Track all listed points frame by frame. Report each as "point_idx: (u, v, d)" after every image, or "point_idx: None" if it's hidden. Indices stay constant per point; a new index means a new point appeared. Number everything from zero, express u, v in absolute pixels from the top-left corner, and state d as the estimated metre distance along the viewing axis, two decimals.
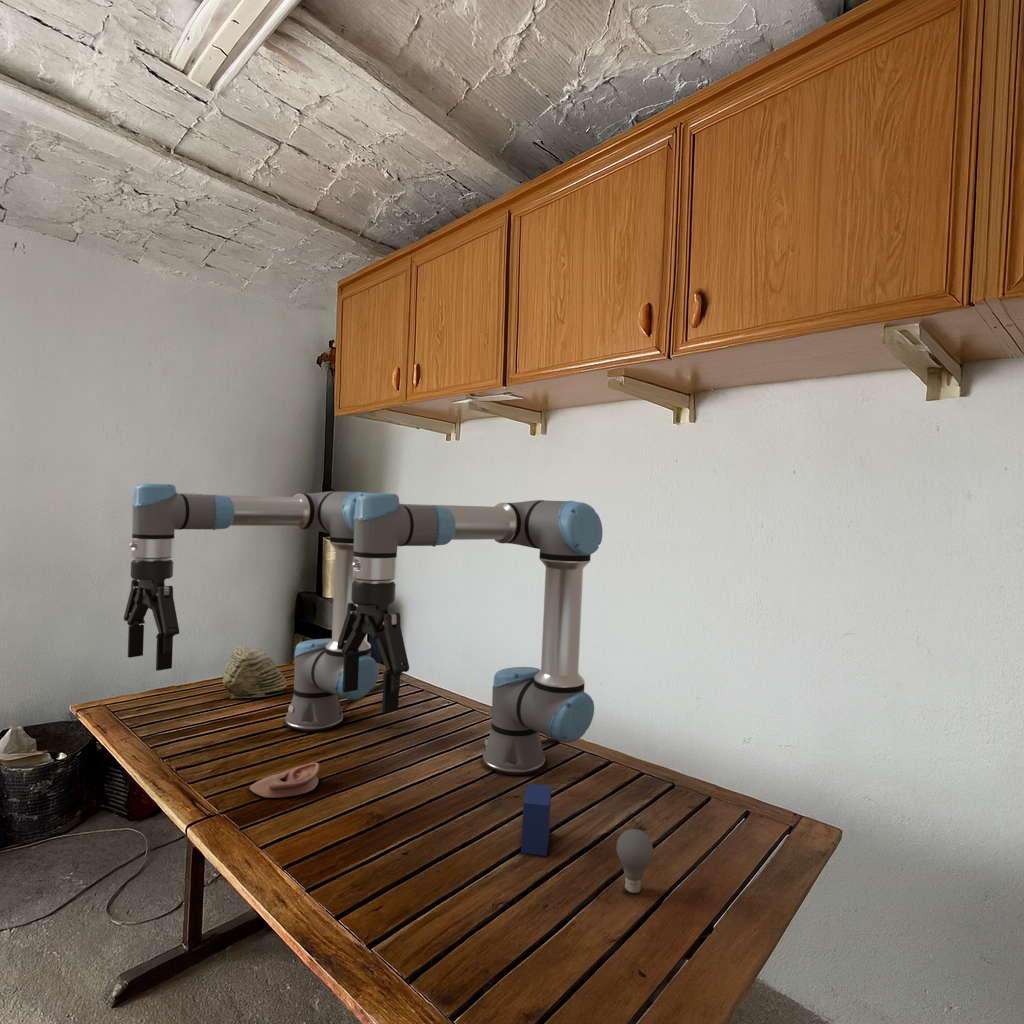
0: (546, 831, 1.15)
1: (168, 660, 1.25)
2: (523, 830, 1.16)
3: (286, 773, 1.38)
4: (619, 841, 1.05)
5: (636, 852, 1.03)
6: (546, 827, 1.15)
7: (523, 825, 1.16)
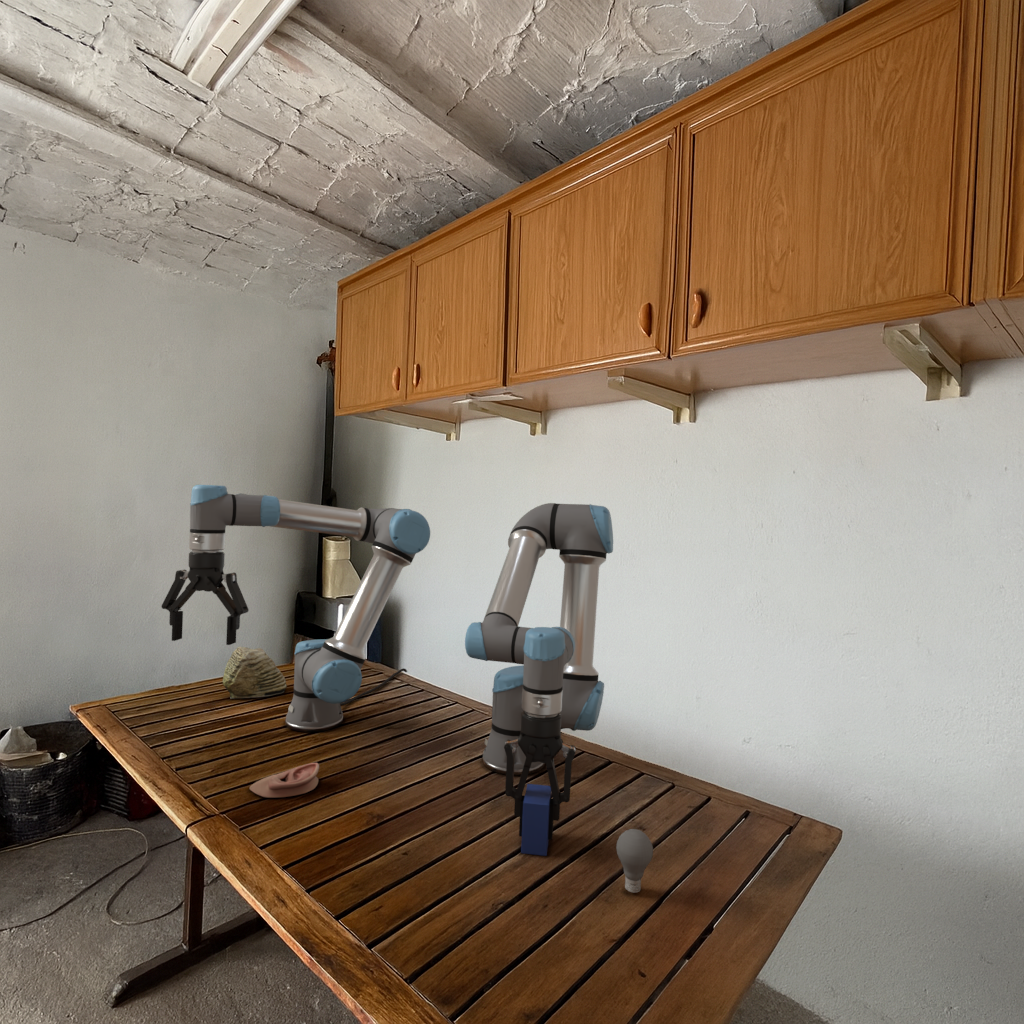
0: (546, 831, 1.15)
1: (234, 635, 1.48)
2: (523, 830, 1.16)
3: (286, 773, 1.38)
4: (619, 841, 1.05)
5: (636, 852, 1.03)
6: (546, 827, 1.15)
7: (523, 825, 1.16)
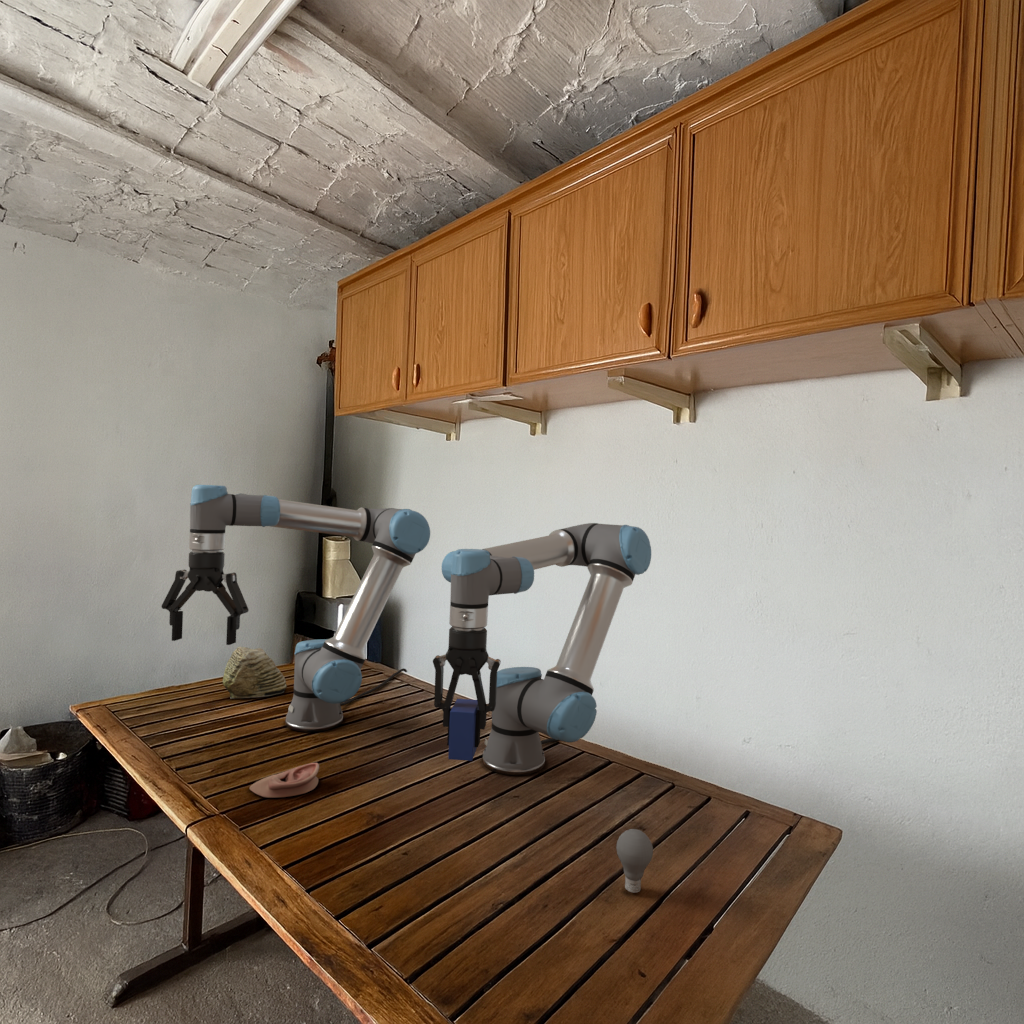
0: (472, 737, 1.22)
1: (234, 635, 1.48)
2: (450, 737, 1.22)
3: (286, 773, 1.38)
4: (619, 841, 1.05)
5: (636, 852, 1.03)
6: (472, 734, 1.22)
7: (450, 732, 1.22)
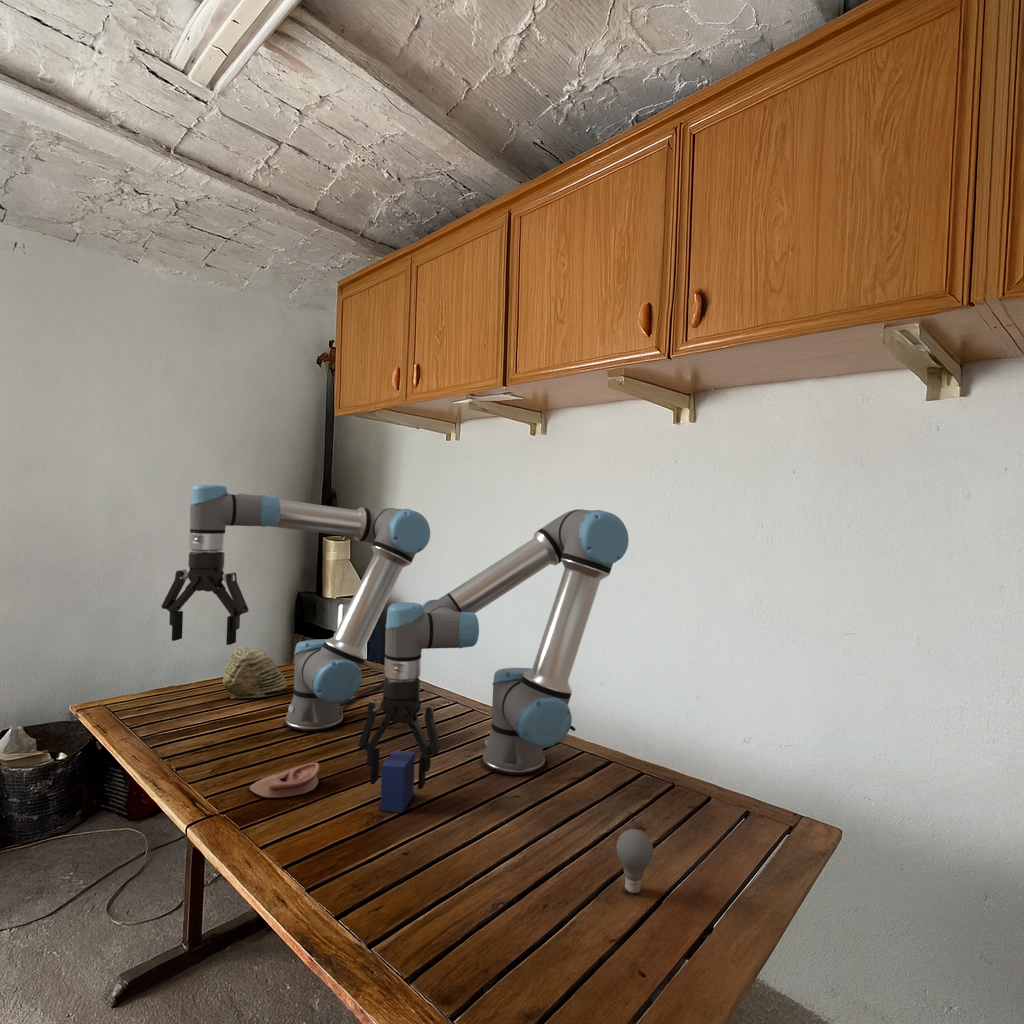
0: (402, 790, 1.28)
1: (234, 635, 1.48)
2: (382, 790, 1.29)
3: (286, 773, 1.38)
4: (619, 841, 1.05)
5: (636, 852, 1.03)
6: (402, 787, 1.28)
7: (382, 785, 1.29)
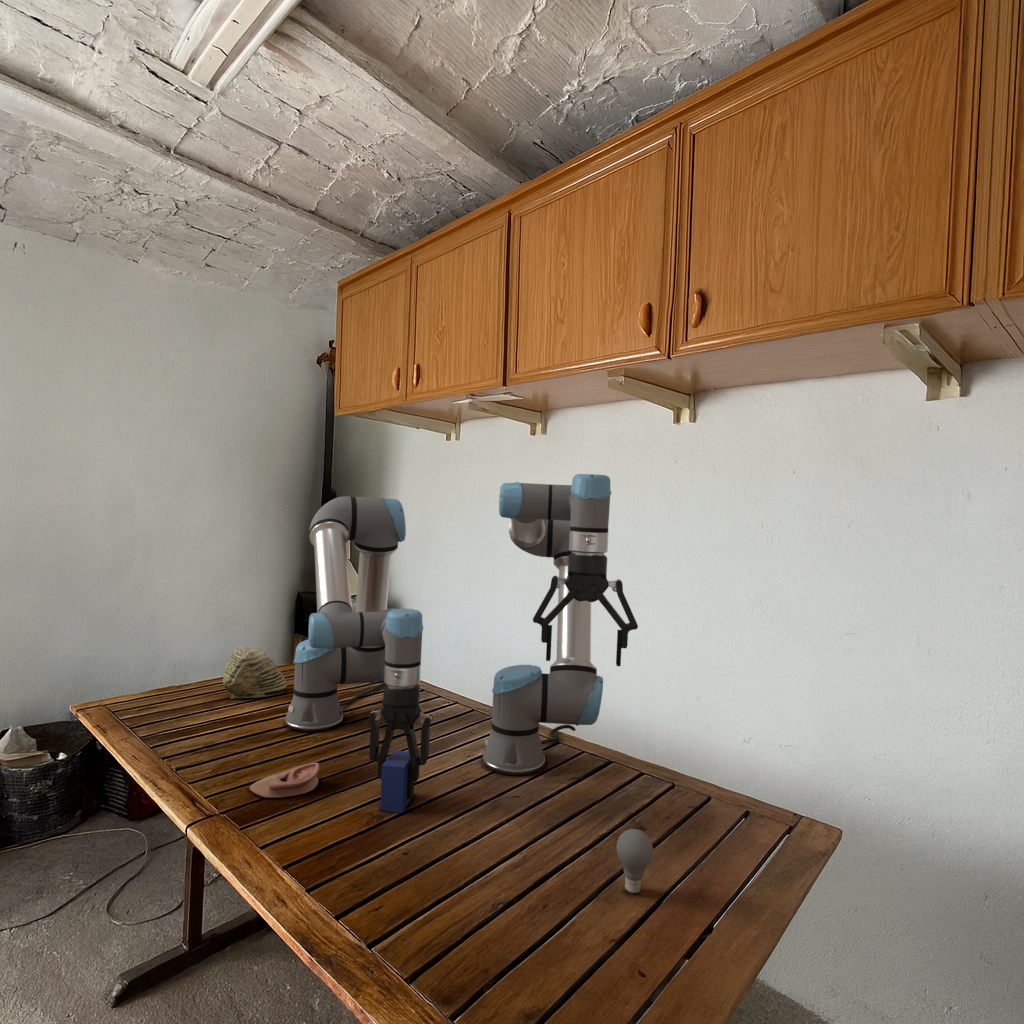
0: (402, 790, 1.28)
1: (413, 786, 1.33)
2: (382, 790, 1.29)
3: (286, 773, 1.38)
4: (619, 841, 1.05)
5: (636, 852, 1.03)
6: (402, 787, 1.28)
7: (382, 785, 1.29)
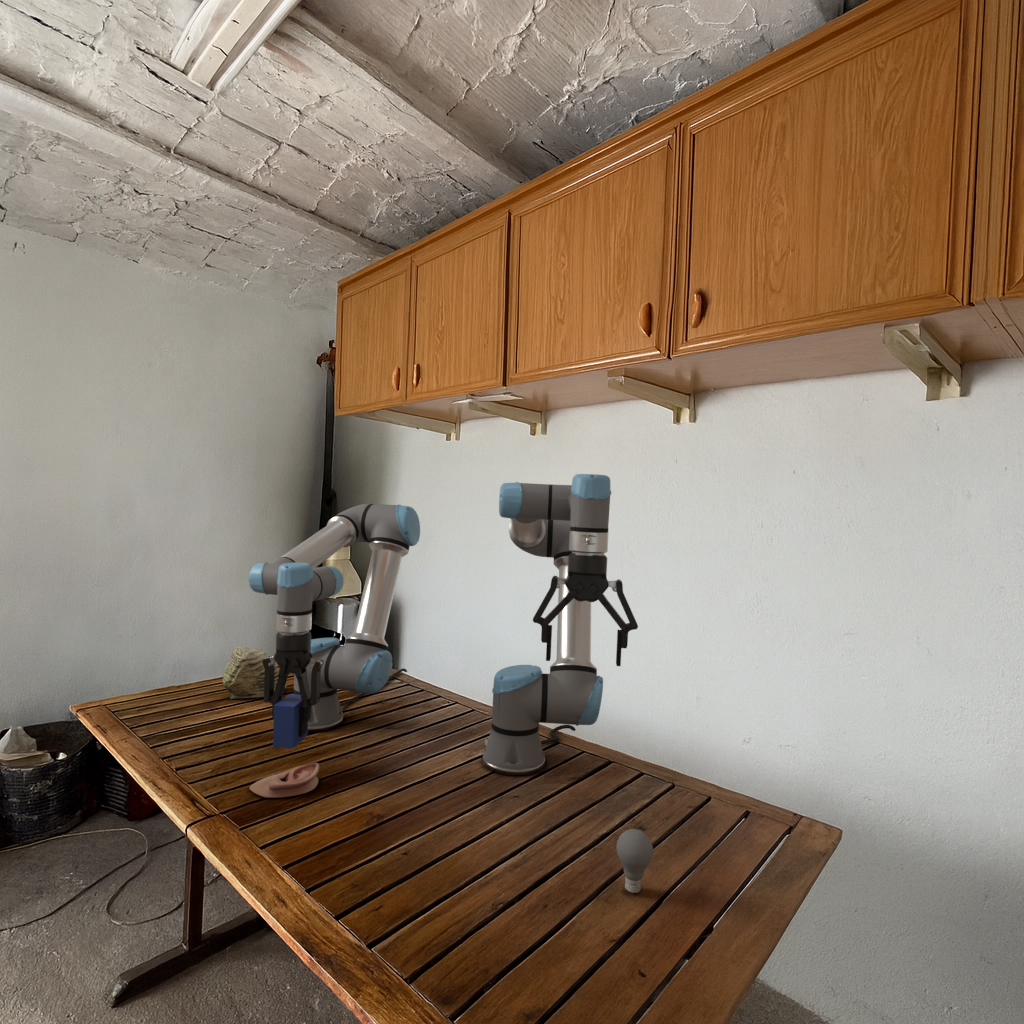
0: (292, 728, 1.39)
1: (305, 726, 1.44)
2: (274, 728, 1.40)
3: (286, 773, 1.38)
4: (619, 841, 1.05)
5: (636, 852, 1.03)
6: (292, 725, 1.39)
7: (274, 724, 1.40)
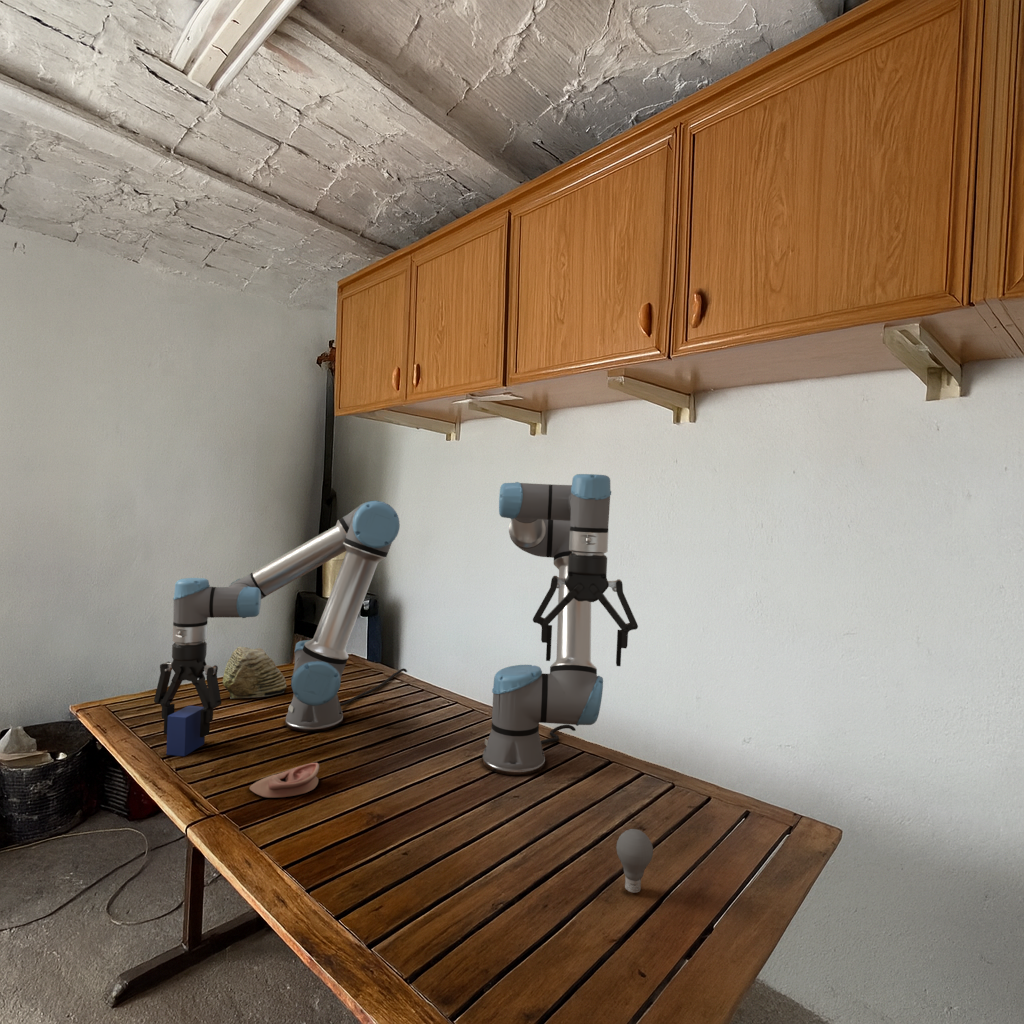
0: (184, 737, 1.51)
1: (207, 727, 1.55)
2: (167, 737, 1.51)
3: (286, 773, 1.38)
4: (619, 841, 1.05)
5: (636, 852, 1.03)
6: (184, 734, 1.51)
7: (167, 733, 1.51)
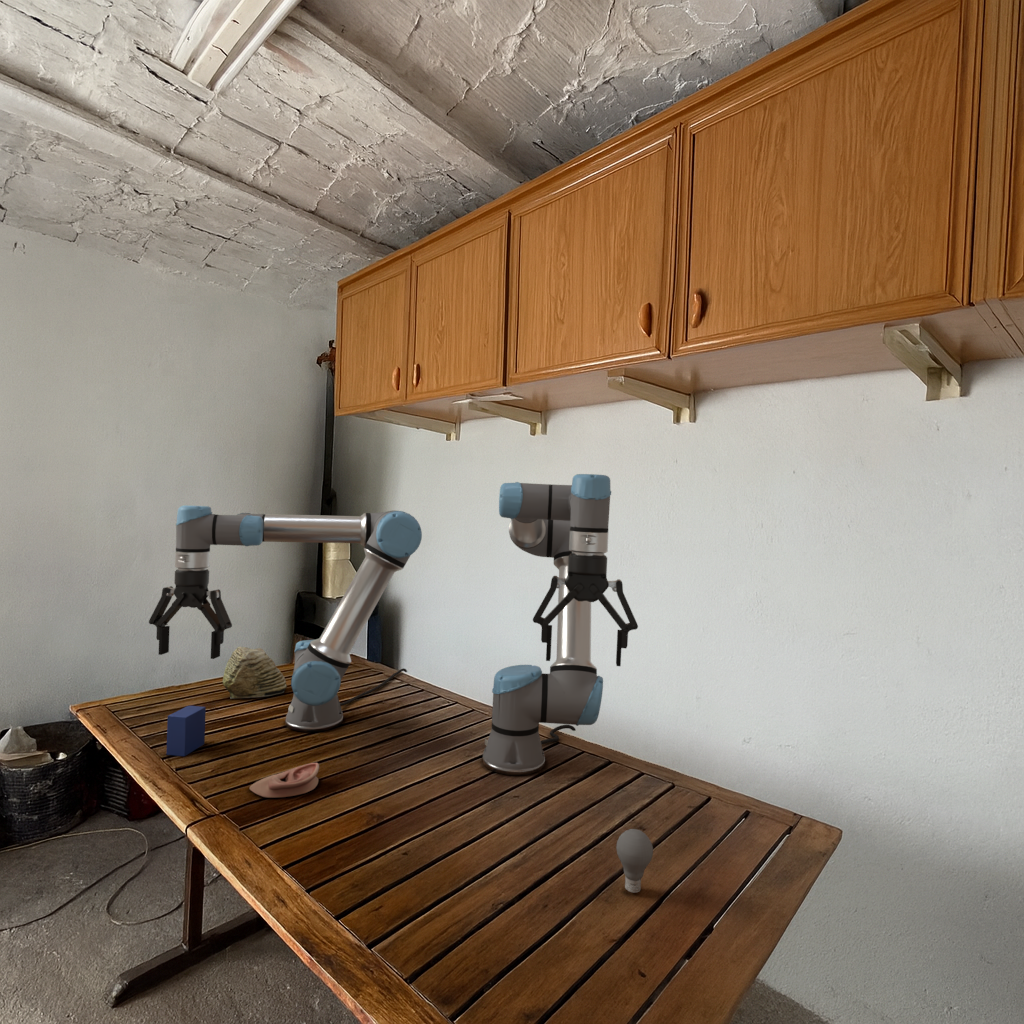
0: (184, 737, 1.51)
1: (218, 650, 1.54)
2: (167, 737, 1.51)
3: (286, 773, 1.38)
4: (619, 841, 1.05)
5: (636, 852, 1.03)
6: (184, 734, 1.51)
7: (167, 733, 1.51)
